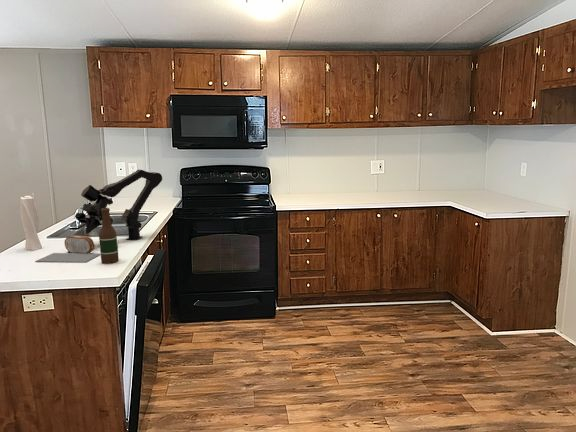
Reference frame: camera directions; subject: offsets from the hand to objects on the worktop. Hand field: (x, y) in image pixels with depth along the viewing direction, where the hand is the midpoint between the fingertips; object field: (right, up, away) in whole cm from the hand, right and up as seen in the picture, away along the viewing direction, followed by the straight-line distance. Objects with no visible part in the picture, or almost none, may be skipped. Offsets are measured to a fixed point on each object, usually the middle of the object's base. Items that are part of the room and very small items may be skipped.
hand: (87, 232), depth 229 cm
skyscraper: (-29, -8, +5) cm, 30 cm away
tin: (-1, -10, -4) cm, 11 cm away
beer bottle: (+19, -12, -21) cm, 31 cm away
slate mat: (-2, -11, -13) cm, 17 cm away
